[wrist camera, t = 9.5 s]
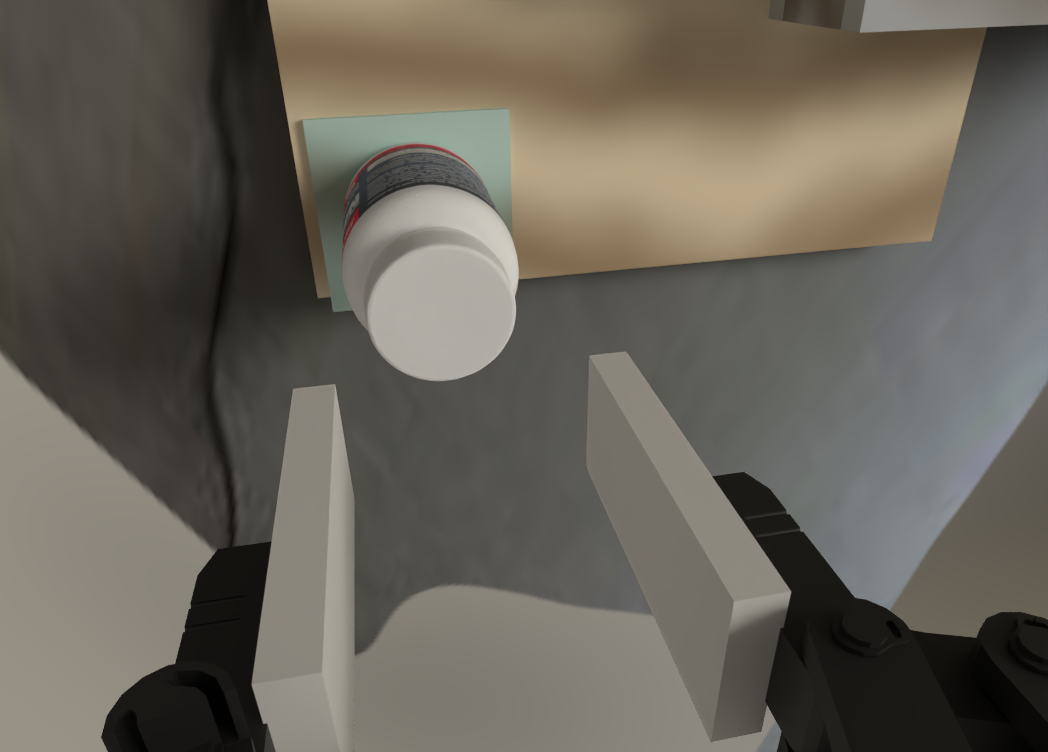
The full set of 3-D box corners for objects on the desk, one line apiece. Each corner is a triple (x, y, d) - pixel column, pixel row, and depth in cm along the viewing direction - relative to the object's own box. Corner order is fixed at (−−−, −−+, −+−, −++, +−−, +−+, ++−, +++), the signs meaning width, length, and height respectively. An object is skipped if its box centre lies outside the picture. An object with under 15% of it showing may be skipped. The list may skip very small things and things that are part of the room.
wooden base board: (243, -185, 23) (198, -242, 16) (999, -180, 27) (1206, -224, 20) (321, 290, 30) (313, 381, 24) (900, 236, 34) (1027, 302, 28)
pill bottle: (328, 151, 26) (316, 235, 18) (478, 129, 26) (528, 199, 19) (361, 293, 28) (363, 417, 21) (497, 269, 29) (547, 381, 21)
